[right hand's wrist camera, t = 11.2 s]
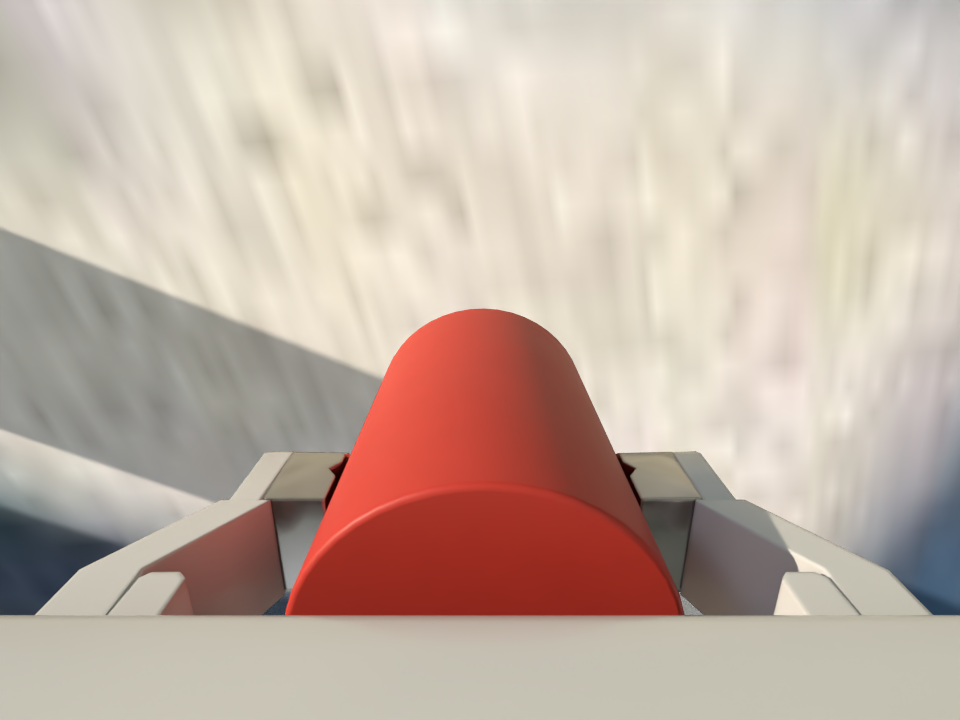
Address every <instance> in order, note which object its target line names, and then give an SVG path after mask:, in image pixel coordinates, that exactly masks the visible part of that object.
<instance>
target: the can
mask: <svg viewBox="0 0 960 720" xmlns="http://www.w3.org/2000/svg"><path fill="white" fill-rule="evenodd" d="M285 615H684V611H683V607H682V603H681V599H680V595H679V592H678V590H677V588H676V585H675V583H674V581H673V579H672V576H671V574H670V572H669V570H668V567H667V565H666V563H665V561H664V559H663V557H662V554H661V552H660V550H659V548H658V546H657V543H656V541H655V539H654V537H653V535H652V533H651V530H650V528H649V526H648V524H647V522H646V520H645V517H644V515H643V513H642V511H641V509H640V506H639V504H638V502H637V500H636V498H635V496H634V493H633V491H632V489H631V487H630V485H629V482H628V480H627V478H626V476H625V474H624V472H623V469H622V467H621V465H620V463H619V461H618V459H617V456H616V454H615V452H614V450H613V448H612V445H611V443H610V441H609V439H608V437H607V435H606V432H605V430H604V428H603V426H602V424H601V422H600V419H599V417H598V415H597V413H596V411H595V408H594V406H593V404H592V402H591V400H590V398H589V395H588V393H587V391H586V389H585V387H584V384H583V382H582V380H581V378H580V376H579V374H578V371H577V369H576V367H575V365H574V363H573V361H572V359H571V357H570V356H569V354H568V352H567V351H566V349H565V348H564V347H563V346H562V345H561V343H560V342H559V341H558V340H557V339H556V338H555V337H554V336H553V335H552V334H551V333H549V332H548V331H547V330H546V329H544V328H543V327H541V326H540V325H538V324H537V323H535V322H533V321H531V320H529V319H527V318H525V317H522V316H520V315H517V314H514V313H511V312H506V311H501V310H494V309H469V310H464V311H458V312H454V313H451V314H448V315H444V316H442V317H440V318H438V319H435V320H433V321H431V322H429V323H428V324H426V325H425V326H423V327H421V328H420V329H419V330H417V331H416V332H415V333H414V334H413V335H411V336H410V337H409V338H408V339H407V340H406V341H405V343H404V344H403V345H402V346H401V347H400V349H399V350H398V351H397V353H396V354H395V356H394V357H393V359H392V361H391V363H390V366H389V368H388V370H387V372H386V374H385V377H384V379H383V381H382V384H381V386H380V388H379V390H378V393H377V395H376V397H375V400H374V402H373V404H372V407H371V409H370V411H369V413H368V416H367V418H366V420H365V423H364V425H363V427H362V430H361V432H360V434H359V436H358V439H357V441H356V443H355V446H354V448H353V450H352V453H351V455H350V457H349V460H348V462H347V464H346V466H345V469H344V471H343V473H342V476H341V478H340V480H339V483H338V485H337V487H336V489H335V492H334V494H333V496H332V499H331V501H330V503H329V506H328V508H327V510H326V512H325V515H324V517H323V519H322V522H321V524H320V526H319V529H318V531H317V533H316V535H315V538H314V540H313V542H312V545H311V547H310V549H309V552H308V554H307V556H306V559H305V561H304V563H303V565H302V568H301V570H300V572H299V575H298V577H297V579H296V582H295V584H294V586H293V588H292V591H291V595H290V598H289V601H288V605H287V608H286V614H285Z"/></svg>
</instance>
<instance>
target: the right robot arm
mask: <svg viewBox="0 0 960 720" xmlns="http://www.w3.org/2000/svg"><path fill="white" fill-rule="evenodd" d="M616 456H617V459H618V461H619V463H620V465H621V467H622V469H623V472H624V474H625V476H626V478H627V480H628V482H629V485H630V487H631V489H632V491H633V493H634V496H635V498H636V500H637V502H638V504H639V506H640V509H641V511H642V513H643V515H644V517H645V520H646V522H647V524H648V526H649V528H650V530H651V533H652V535H653V537H654V539H655V541H656V543H657V546H658V548H659V550H660V552H661V554H662V557H663V559H664V561H665V563H666V565H667V567H668V570H669V572H670V574H671V576H672V579H673V581H674V583H675V585H676V588H677V590H678V592H681V593H680V594H681V595H682V596H683V597H684V598H685V599H687V600H688V601H689V602H690V603H691V604H692V605H693V606H694V607H696V608H697V609H698V610H699V611H700V612H701V613H702V614H703V615H262V614H264V613H265V612H266V611H267V610H268V609H269V608H270V607H271V606H272V605H274V604H275V603H276V602H277V601H278V600H279V599H280V598H281V597H283V596H284V595H285V592H291V591H292V588H293V586H294V584H295V582H296V579H297V577H298V575H299V572H300V570H301V568H302V565H303V563H304V561H305V559H306V556H307V554H308V552H309V549H310V547H311V545H312V542H313V540H314V538H315V535H316V533H317V531H318V529H319V526H320V524H321V522H322V519H323V517H324V515H325V512H326V510H327V508H328V506H329V503H330V501H331V499H332V496H333V494H334V492H335V489H336V487H337V485H338V483H339V480H340V478H341V476H342V473H343V471H344V469H345V466H346V464H347V462H348V460H349V457H350V455H349V453H326V452H293V451H288V452H267V453H264V454H263V456H262V457H261V458H260V460H259V461H258V462H257V464H256V465H255V466H254V468H253V469H252V470H251V472H250V473H249V474H248V476H247V477H246V479H245V480H244V481H243V483H242V484H241V485H240V487H239V488H238V489H237V491H236V492H235V493H234V495H233V496H232V497H231V499H230V500H220V501H218V502H216V503H214V504H212V505H210V506H207V507H205V508H203V509H201V510H199V511H197V512H195V513H193V514H191V515H189V516H187V517H185V518H183V519H181V520H179V521H177V522H175V523H173V524H171V525H169V526H167V527H165V528H163V529H161V530H159V531H157V532H155V533H153V534H151V535H149V536H147V537H145V538H143V539H141V540H139V541H136V542H134V543H132V544H130V545H128V546H126V547H124V548H122V549H120V550H118V551H116V552H114V553H112V554H110V555H108V556H106V557H104V558H102V559H100V560H98V561H96V562H94V563H92V564H90V565H88V566H86V567H84V568H82V569H80V570H79V571H78V572H77V573H76V574H75V575H74V576H73V577H72V578H71V579H70V580H69V581H68V582H67V583H66V584H65V585H64V586H63V587H62V588H61V589H60V590H59V591H58V592H57V593H56V594H55V595H54V596H53V597H52V598H51V599H50V600H49V601H48V602H47V603H46V604H45V605H44V606H43V607H42V608H41V609H40V610H39V611H38V612H37V613H36V614H35V615H0V720H960V615H933V614H932V613H931V612H930V611H929V610H928V609H927V608H926V607H925V606H924V605H923V604H922V603H921V602H920V601H919V600H918V599H917V598H916V597H915V596H914V595H913V594H912V593H911V592H910V591H909V590H908V589H907V588H906V587H905V586H904V585H903V584H902V583H901V582H900V581H899V580H898V579H897V578H896V577H895V576H894V575H893V574H892V573H891V572H890V571H889V570H887V569H885V568H883V567H881V566H879V565H877V564H875V563H873V562H871V561H869V560H867V559H864V558H862V557H860V556H858V555H856V554H854V553H852V552H850V551H848V550H846V549H844V548H842V547H840V546H838V545H836V544H834V543H832V542H830V541H828V540H826V539H824V538H822V537H820V536H818V535H815V534H813V533H811V532H809V531H807V530H805V529H803V528H801V527H799V526H797V525H795V524H793V523H791V522H789V521H787V520H785V519H783V518H781V517H779V516H777V515H775V514H773V513H771V512H769V511H767V510H764V509H762V508H760V507H758V506H756V505H754V504H752V503H750V502H748V501H746V500H736V499H735V498H734V497H733V495H732V494H731V493H730V491H729V490H728V489H727V487H726V486H725V485H724V483H723V482H722V481H721V480H720V478H719V477H718V476H717V474H716V473H715V472H714V470H713V469H712V468H711V466H710V465H709V464H708V463H707V461H706V460H705V459H704V457H703V456H702V455H701V453H698V452H696V451H690V452H649V453H618V454H616Z"/></svg>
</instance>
